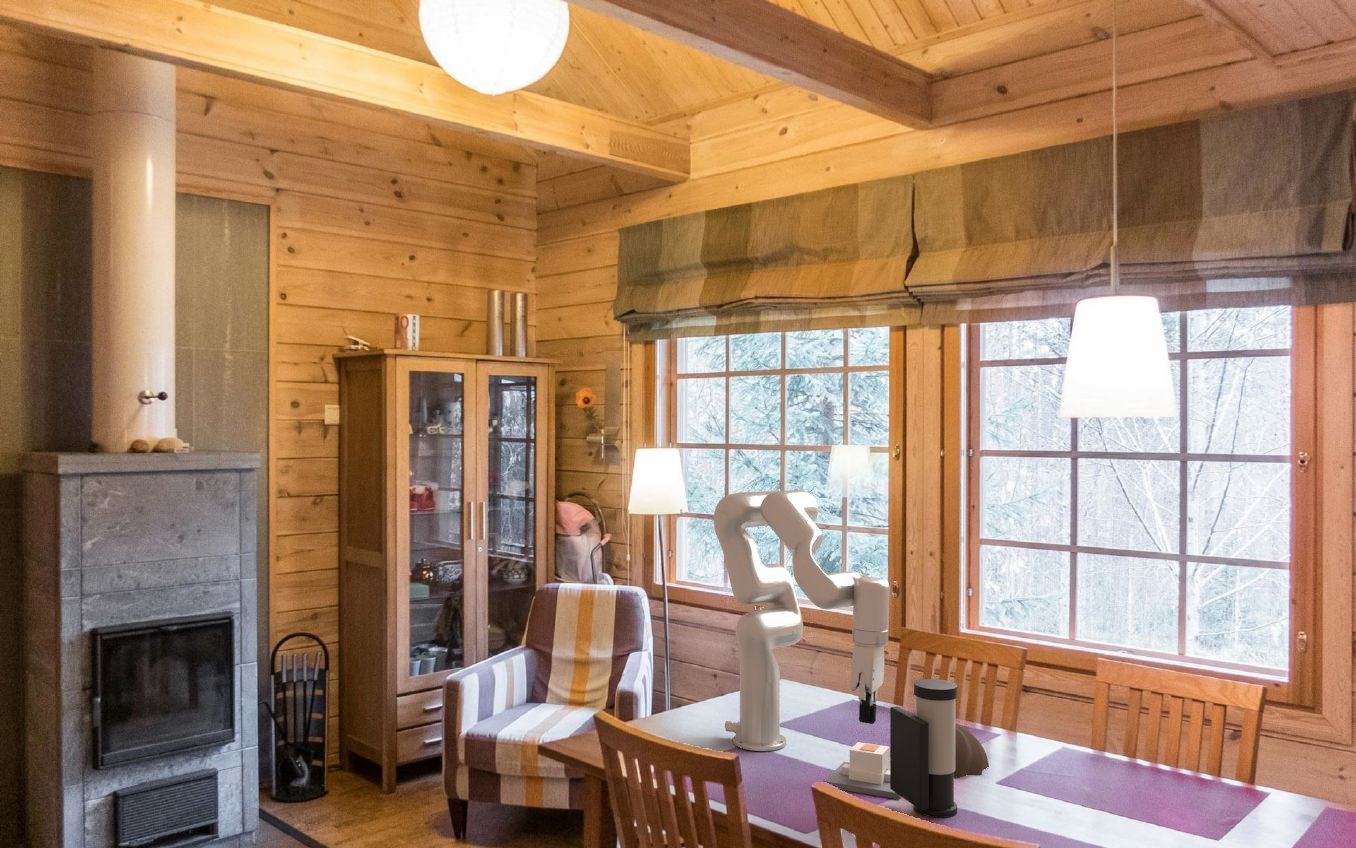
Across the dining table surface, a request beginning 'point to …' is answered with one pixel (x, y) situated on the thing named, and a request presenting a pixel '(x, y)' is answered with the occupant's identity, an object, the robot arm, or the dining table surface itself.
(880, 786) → the rail board
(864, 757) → the block
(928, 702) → the light fixture
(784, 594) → the robot arm
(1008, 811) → the dining table surface
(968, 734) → the decorative dome
